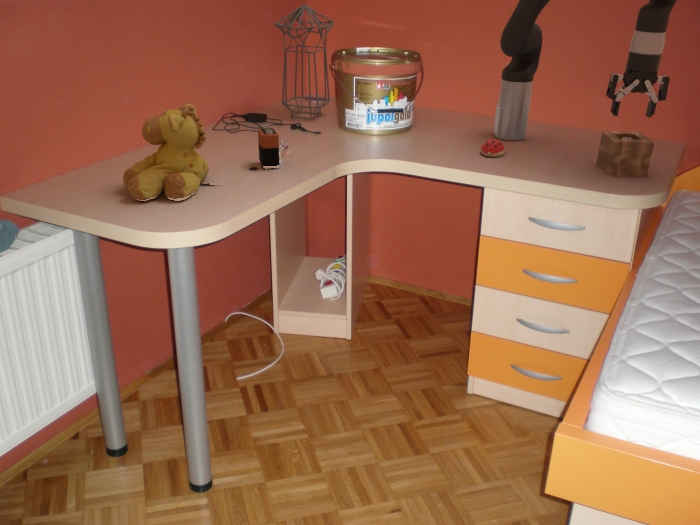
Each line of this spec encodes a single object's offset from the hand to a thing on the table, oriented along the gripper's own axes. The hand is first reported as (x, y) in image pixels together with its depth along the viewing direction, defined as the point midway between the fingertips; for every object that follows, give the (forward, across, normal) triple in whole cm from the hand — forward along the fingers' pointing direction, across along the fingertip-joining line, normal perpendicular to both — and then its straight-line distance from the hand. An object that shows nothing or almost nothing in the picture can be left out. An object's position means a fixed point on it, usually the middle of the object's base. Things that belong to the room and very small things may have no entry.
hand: (631, 116), depth 168 cm
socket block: (+14, 0, 0) cm, 14 cm away
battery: (+15, +93, +5) cm, 94 cm away
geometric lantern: (+16, +89, -49) cm, 102 cm away
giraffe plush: (+15, +113, +25) cm, 117 cm away
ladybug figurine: (+15, +32, -12) cm, 37 cm away
